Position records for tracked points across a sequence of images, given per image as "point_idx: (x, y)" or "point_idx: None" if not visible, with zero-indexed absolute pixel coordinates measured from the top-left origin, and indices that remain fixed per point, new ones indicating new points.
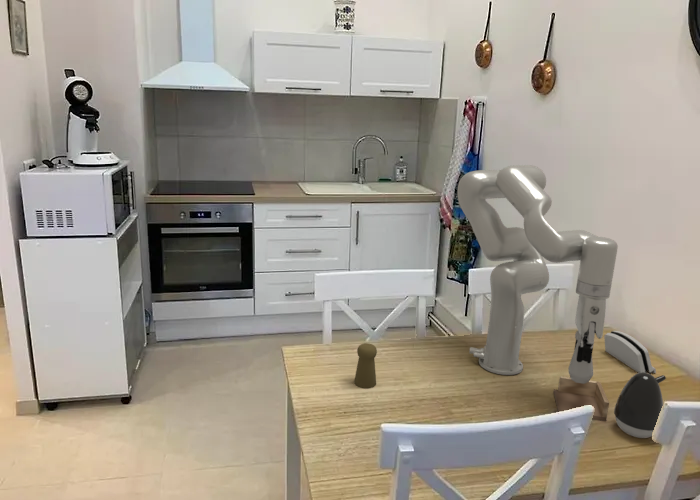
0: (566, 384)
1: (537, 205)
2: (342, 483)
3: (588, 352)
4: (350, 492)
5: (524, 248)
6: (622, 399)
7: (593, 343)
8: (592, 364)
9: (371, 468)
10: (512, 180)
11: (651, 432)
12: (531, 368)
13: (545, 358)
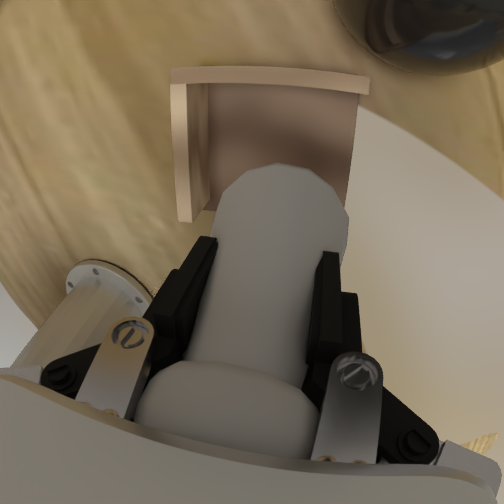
0: (198, 188)
1: None
2: (478, 450)
3: (360, 344)
4: (490, 444)
5: None
6: (468, 69)
7: (500, 470)
8: (301, 209)
9: (466, 444)
10: None
11: None
12: (86, 236)
13: (24, 192)
